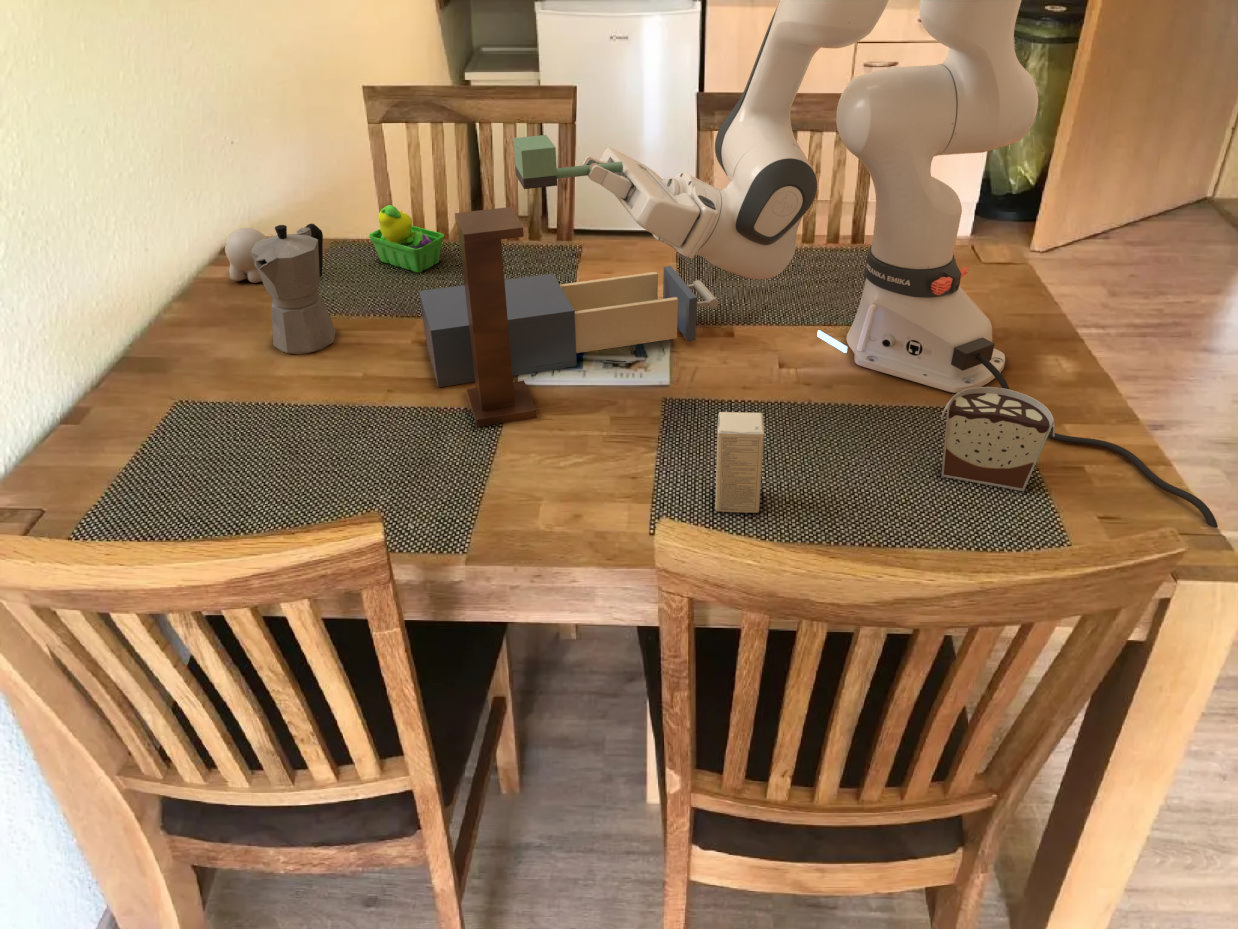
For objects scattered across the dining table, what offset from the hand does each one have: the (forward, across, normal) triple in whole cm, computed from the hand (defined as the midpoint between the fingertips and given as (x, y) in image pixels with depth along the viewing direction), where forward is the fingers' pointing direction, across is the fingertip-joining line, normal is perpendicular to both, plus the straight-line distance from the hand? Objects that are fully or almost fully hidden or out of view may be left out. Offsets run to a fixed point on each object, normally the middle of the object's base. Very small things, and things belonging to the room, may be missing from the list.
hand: (587, 166), depth 116 cm
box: (-24, +29, +22) cm, 44 cm away
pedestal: (-4, +1, +33) cm, 33 cm away
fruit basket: (+2, -50, +37) cm, 63 cm away
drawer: (-24, -14, +21) cm, 34 cm away
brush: (+1, 0, +2) cm, 2 cm away
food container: (-50, +32, +7) cm, 60 cm away
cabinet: (-6, -13, +32) cm, 35 cm away
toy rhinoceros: (+22, -51, +49) cm, 74 cm away
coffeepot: (+17, -27, +46) cm, 56 cm away
